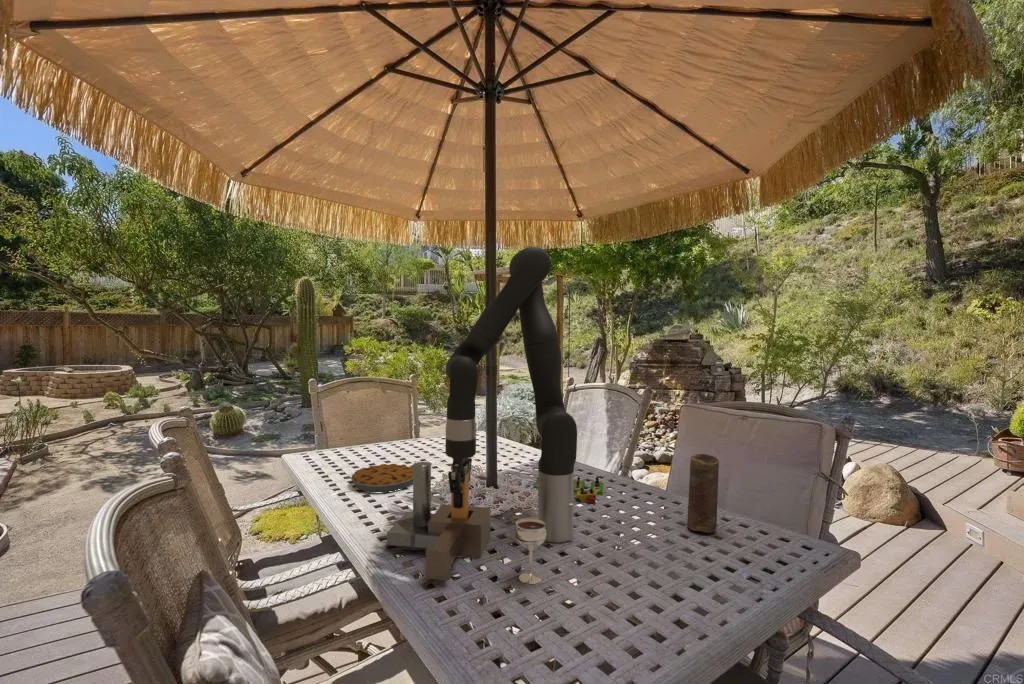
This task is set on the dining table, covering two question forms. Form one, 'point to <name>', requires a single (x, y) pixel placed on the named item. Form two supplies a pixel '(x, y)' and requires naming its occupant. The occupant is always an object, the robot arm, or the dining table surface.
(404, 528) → the metal peg stand
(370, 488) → the pie
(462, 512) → the orange rectangular block
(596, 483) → the toy garden set
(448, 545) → the bracket
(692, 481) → the candle
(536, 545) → the wineglass
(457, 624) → the dining table surface
